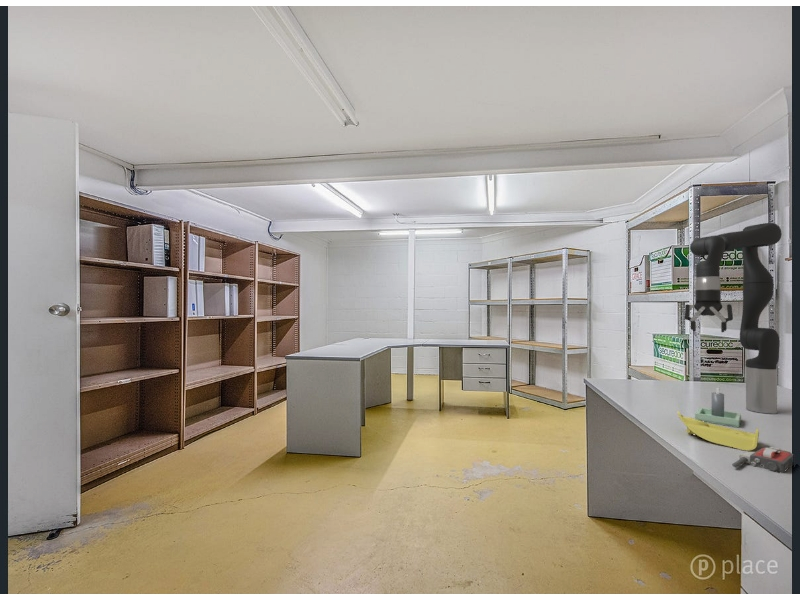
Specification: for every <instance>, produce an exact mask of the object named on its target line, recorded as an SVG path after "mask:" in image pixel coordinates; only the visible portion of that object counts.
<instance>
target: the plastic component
mask: <svg viewBox="0 0 800 600" xmlns="http://www.w3.org/2000/svg"><path fill="white" fill-rule="evenodd" d="M676 412H677V415H678V417H679V419H680V421H681V422H682V423H683V424H684V425H685V427H686V430H685V431H686V432H685V433H687V434H688V435H690V434H695V435H697V436H696V437H700V438H702V439H703V440H706V441H708V442H710V443H713V444H717V445H721V446H725V447H727V448H732V447H733V448H732V449H736V448H737V449H736V450H740V449H742V450H741V451H745V450H746V451H745V452H753V451H754V450H755V449H756V448H757V447H758V443H759V436H760V435H759V434H760V429H759V428H756V429H755V433H754V432H753V433H752V432H748V431H743V430H739V429H734V428H732V427H731V428H730V427H726V426H723V425H719V424H713V423H707V422H703V421H700V420H697V419H695V418H693V417H689V416H684V415H682V414H681V412H680V411H678V410H677V411H676ZM695 435H694V436H695Z"/></svg>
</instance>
